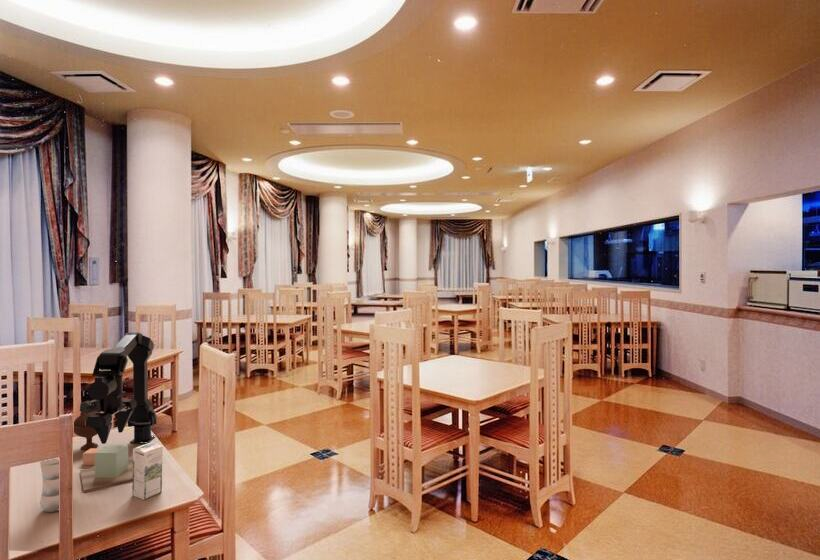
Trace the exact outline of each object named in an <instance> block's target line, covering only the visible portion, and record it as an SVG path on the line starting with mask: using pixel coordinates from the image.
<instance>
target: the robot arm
mask: <svg viewBox="0 0 820 560" xmlns="http://www.w3.org/2000/svg"><path fill="white" fill-rule="evenodd" d="M154 344H155V343H154V342H153V340H152V339H151V338H150V337H148V336H145V335H143V334H142V333H141V332H138V331H137V332H135V331H134V332H132V331H131V332H126V333H124V334H123V337H122V338H121V339H120V340H119V341H118V343H116V344H115V345H114V346H113V347H112V348H109V349H108V348H107V349H105V350H103V351H101V352H100V353H99V355H98V356H97V357H96V362H95V365H94V366H93V367H94V368H93V371H92V375H91V376H92V377H94V381H93V382H92V383H90V385H89V386H88V387H87V391H86V392H87V395H88V396H89V398H91V399H92V400H86V401H83V402H81V403H80V406H79V412H80V413H81V412H82V413H84V414H88V413H89V412H92V411H95V410H97V412H100V413H94V414H92V415H90V416H88V417H87V418H86V419H85V426H88V427H92V428H94V429H95V430H96V432H97V436H98V438H99V441H100V442H101V444H103V445H105V444H107V441H108V440H109V437H110V436H109V435H110V432H111V431H112V427H113V422H112V421H113V416H114V415H115V419H116V425H117V430H118V434H119V433H123V432H124V430H125V427H126V425H127V427H128V428H130V427H132V428H133V439H132V440H130V441H129V443H130V444H141V443H140V442H148V441H149V442H151V441H152V440H153V439H154V438H155V437H154V436H155V435H152V427H153V426H155V425H157V424H158V416H157V414H156V412H155V410H154V407H153V406H154V405H153V403H152V402H151V400H150V399H149V393H148V391H149V389H148V388H149V386H148V385H149V384H148V381H149V380H148V361H149V359H150V357H151V356H152V355H153V350H154V347H155V345H154ZM129 360H130V361H131V363H132V377H133V378H132V382H133V387H132V388H133V398H123V397H124V396H126V390H125V391H123V389H124V388H123V387H124V386H123V384H124V383H123V378H124V377H123V373H125V370H126V367H127V364H128V361H129ZM152 436H153V437H154V438H153V437H152ZM151 439H152V440H151ZM150 440H151V441H150ZM149 442H148V443H149Z"/></svg>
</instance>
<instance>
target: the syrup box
mask: <svg viewBox="0 0 820 560" xmlns="http://www.w3.org/2000/svg"><path fill="white" fill-rule="evenodd" d="M163 448H164V447H163V446H162V445H160V444H158V443H156V442H153V441H149V442H148V443H144V444H143V445H139V446H137V447H134V448H132V459H133V481H132V482H131V483H132V491H131V492H132V493H131V495H132V496H133V497H135V498H139V499H140V500H143V501H145V500H147V499H150V498H151V497H154V496H156V495H158V494H160V493H162V492H163V491H162V490H163V450H164V449H163Z"/></svg>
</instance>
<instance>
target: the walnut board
mask: <svg viewBox="0 0 820 560" xmlns="http://www.w3.org/2000/svg"><path fill="white" fill-rule="evenodd" d="M79 473H80V474H79V475H80V481H81V485H82V491H83V492H82V493H88V492H92V491H97V490H101V489H105V488H110V487H113V486H118V485H121V484H126V483H130V482H131V483H132V482H133V458H131V459H128V469H127V470H125V471H124V472H123V473H122V474H121V475H119V476H118V477H117V478H95V466H93V467H90V468H84V469H81V470H79Z"/></svg>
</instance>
